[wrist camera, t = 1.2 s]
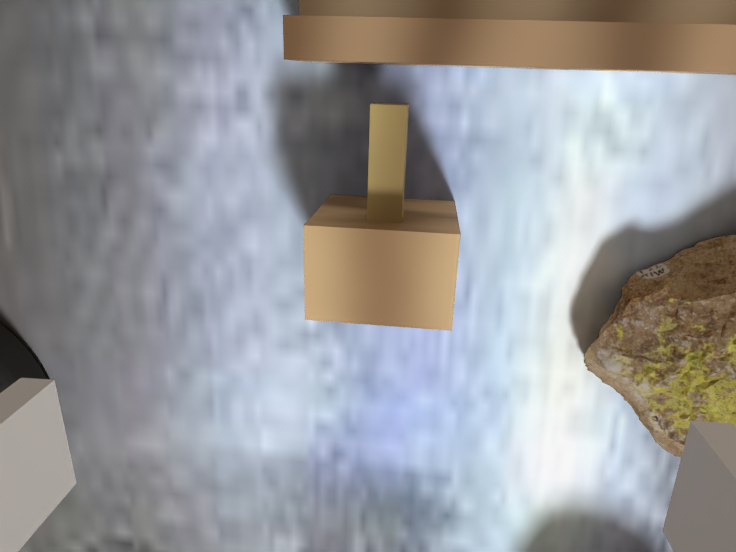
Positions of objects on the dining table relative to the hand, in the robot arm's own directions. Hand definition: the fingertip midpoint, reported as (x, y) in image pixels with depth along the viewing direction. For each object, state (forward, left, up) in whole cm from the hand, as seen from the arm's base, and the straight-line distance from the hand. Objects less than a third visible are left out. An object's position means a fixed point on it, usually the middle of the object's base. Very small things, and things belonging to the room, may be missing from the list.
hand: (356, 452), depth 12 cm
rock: (+15, -4, -17) cm, 23 cm away
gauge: (-1, +2, -17) cm, 17 cm away
